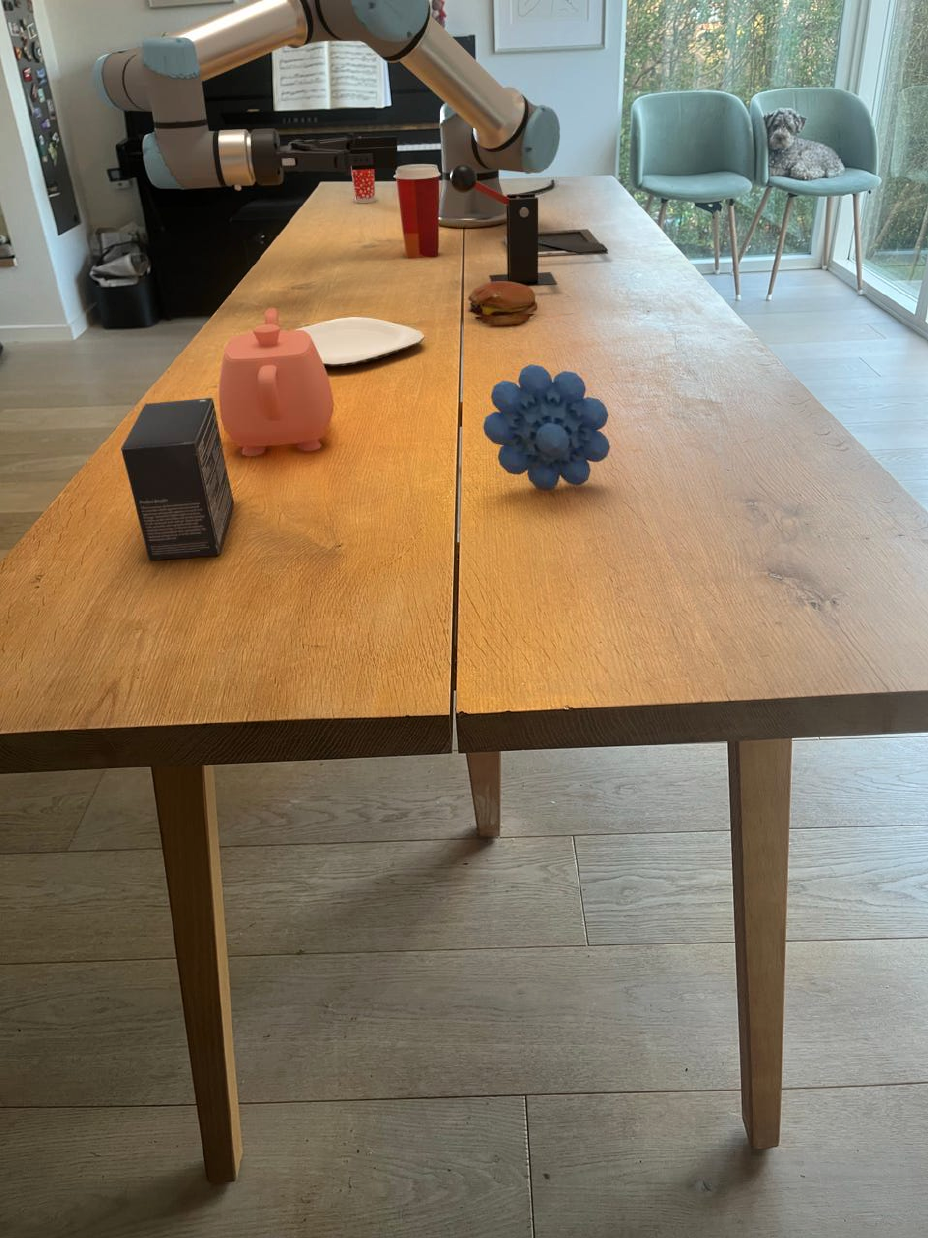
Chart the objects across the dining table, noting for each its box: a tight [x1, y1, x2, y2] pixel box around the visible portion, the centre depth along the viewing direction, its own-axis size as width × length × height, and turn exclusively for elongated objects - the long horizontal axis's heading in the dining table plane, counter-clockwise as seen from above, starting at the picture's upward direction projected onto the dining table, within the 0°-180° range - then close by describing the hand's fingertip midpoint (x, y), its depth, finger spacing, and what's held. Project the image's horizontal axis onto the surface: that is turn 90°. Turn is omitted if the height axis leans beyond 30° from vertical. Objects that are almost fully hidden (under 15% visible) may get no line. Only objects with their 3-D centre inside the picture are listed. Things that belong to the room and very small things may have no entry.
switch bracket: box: [488, 193, 558, 287], centre depth 154 cm, size 10×8×14 cm
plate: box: [295, 316, 426, 367], centre depth 132 cm, size 18×18×2 cm
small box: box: [120, 397, 235, 561], centre depth 85 cm, size 11×6×10 cm, turn 5°
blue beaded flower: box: [483, 363, 611, 491], centre depth 89 cm, size 12×7×12 cm, turn 95°
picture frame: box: [504, 228, 609, 258], centre depth 180 cm, size 16×2×21 cm
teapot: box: [218, 307, 335, 457], centre depth 104 cm, size 20×12×12 cm, turn 8°
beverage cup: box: [351, 135, 376, 204], centre depth 231 cm, size 6×6×14 cm
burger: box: [467, 281, 538, 327], centre depth 142 cm, size 10×9×5 cm
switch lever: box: [450, 164, 520, 206], centre depth 150 cm, size 13×4×4 cm, turn 93°
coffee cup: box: [393, 163, 442, 260], centre depth 177 cm, size 8×8×15 cm
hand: (397, 151), depth 146 cm, fingers open, 13 cm apart
